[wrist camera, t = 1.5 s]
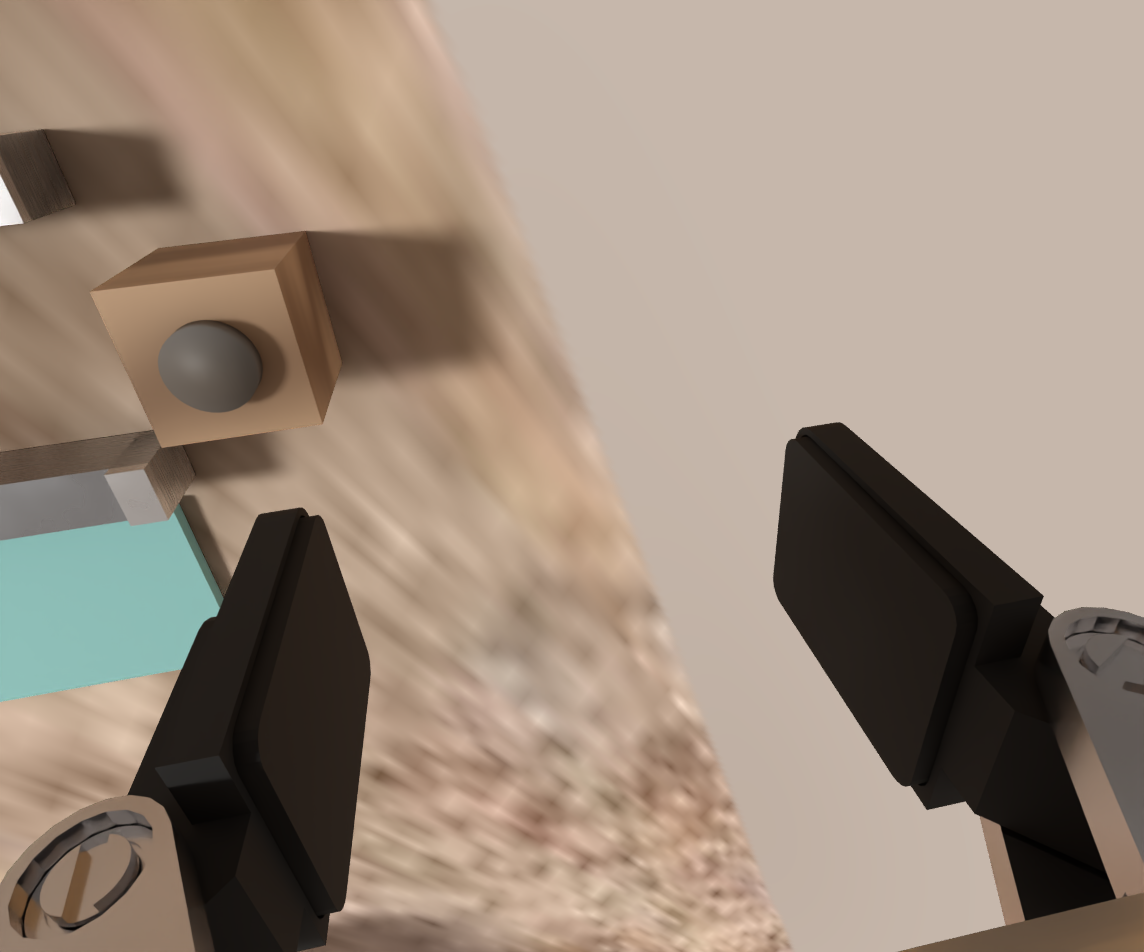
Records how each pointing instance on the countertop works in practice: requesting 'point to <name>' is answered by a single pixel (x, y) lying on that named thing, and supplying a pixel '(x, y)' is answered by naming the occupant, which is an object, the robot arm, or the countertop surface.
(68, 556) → the pad
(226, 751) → the robot arm
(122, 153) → the countertop surface
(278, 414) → the wooden knob block
